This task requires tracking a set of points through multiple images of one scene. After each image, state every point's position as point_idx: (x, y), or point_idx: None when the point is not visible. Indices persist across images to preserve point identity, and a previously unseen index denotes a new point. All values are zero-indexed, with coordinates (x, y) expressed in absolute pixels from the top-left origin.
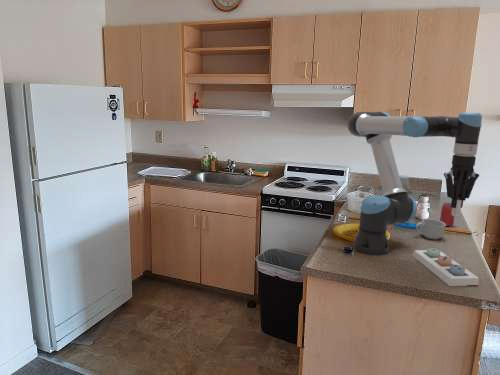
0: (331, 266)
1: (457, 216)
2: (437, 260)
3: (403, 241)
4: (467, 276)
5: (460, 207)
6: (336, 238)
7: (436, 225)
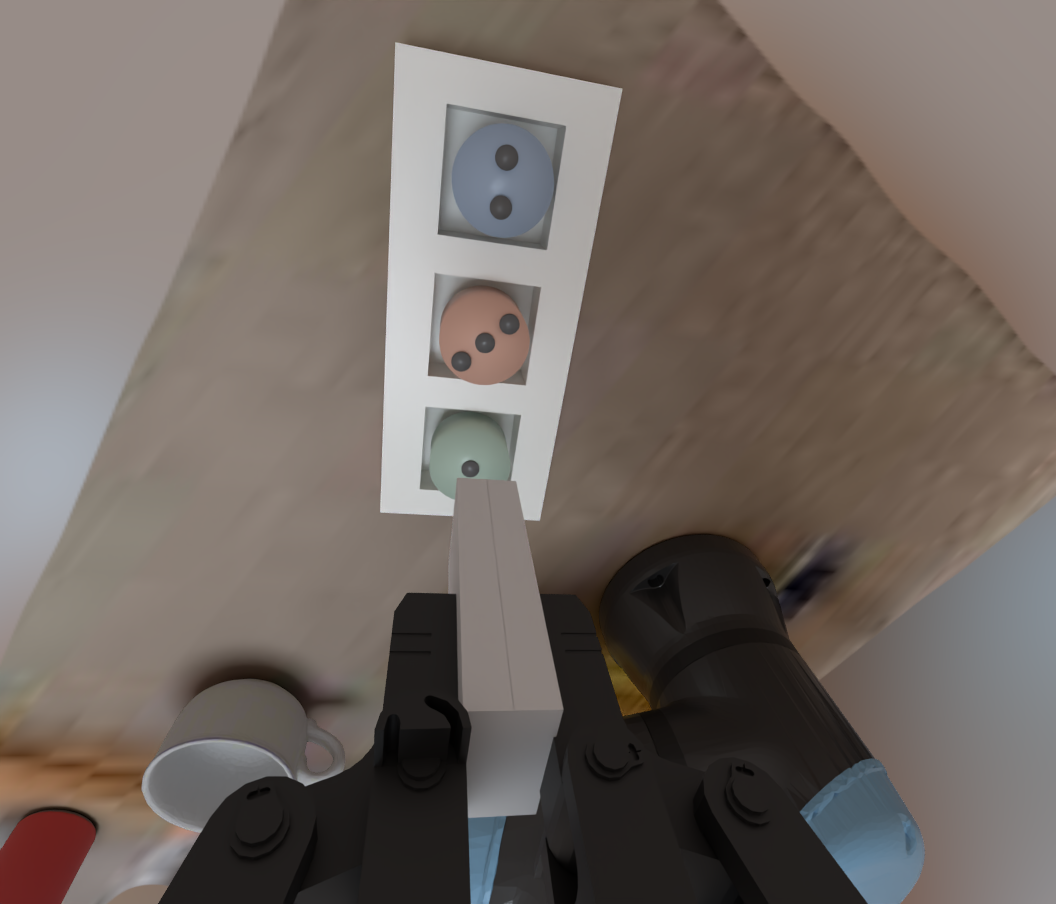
0: (1008, 444)
1: (485, 484)
2: None
3: None
4: (470, 94)
5: (463, 580)
6: None
7: (186, 783)
